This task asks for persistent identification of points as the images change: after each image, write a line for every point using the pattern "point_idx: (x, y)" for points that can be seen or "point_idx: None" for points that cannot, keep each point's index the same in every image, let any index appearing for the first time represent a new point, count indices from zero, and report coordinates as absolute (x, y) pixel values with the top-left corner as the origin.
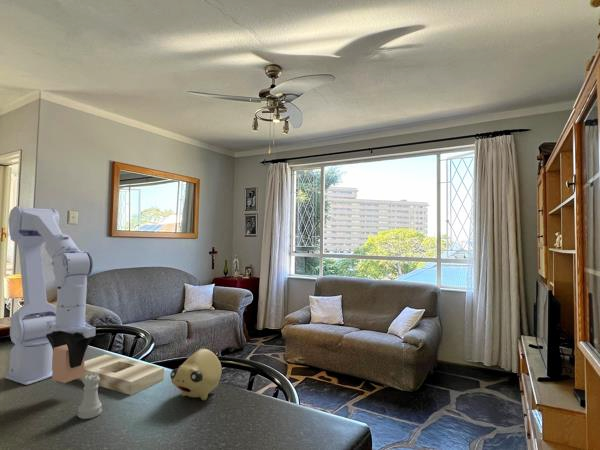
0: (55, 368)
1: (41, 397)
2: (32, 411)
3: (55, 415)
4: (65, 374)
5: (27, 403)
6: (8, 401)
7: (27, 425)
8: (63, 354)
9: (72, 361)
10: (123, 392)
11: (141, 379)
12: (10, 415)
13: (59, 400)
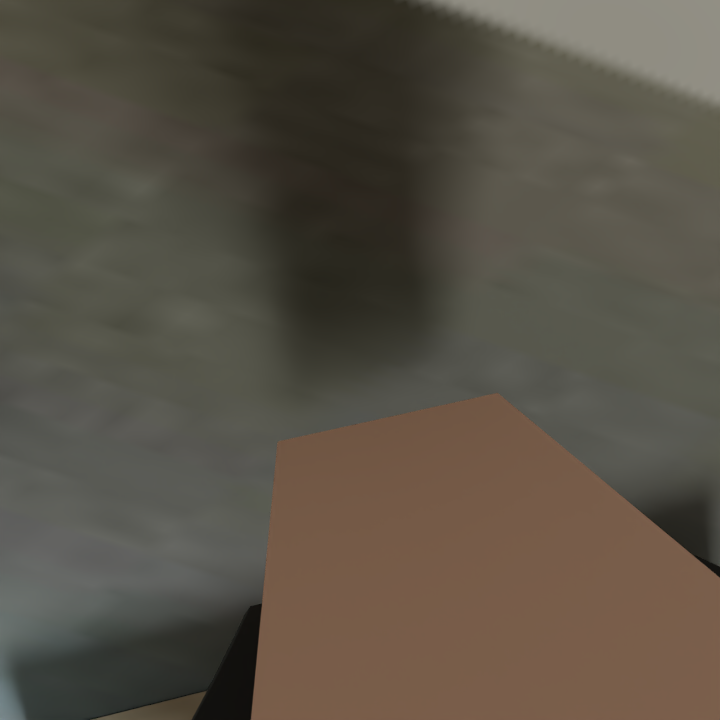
0: (496, 459)
1: (521, 304)
2: (304, 162)
3: (80, 254)
4: (278, 493)
5: (494, 192)
6: (659, 106)
7: (48, 35)
8: (344, 708)
9: (210, 692)
10: (112, 717)
11: None
12: (365, 15)
13: (351, 373)
